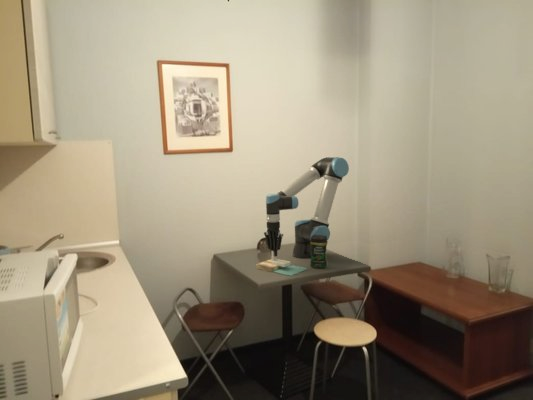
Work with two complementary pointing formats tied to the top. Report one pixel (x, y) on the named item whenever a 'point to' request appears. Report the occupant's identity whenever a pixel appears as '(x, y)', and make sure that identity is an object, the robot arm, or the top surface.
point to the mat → (290, 270)
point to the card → (281, 263)
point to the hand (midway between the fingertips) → (274, 261)
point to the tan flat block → (268, 266)
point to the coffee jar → (319, 251)
